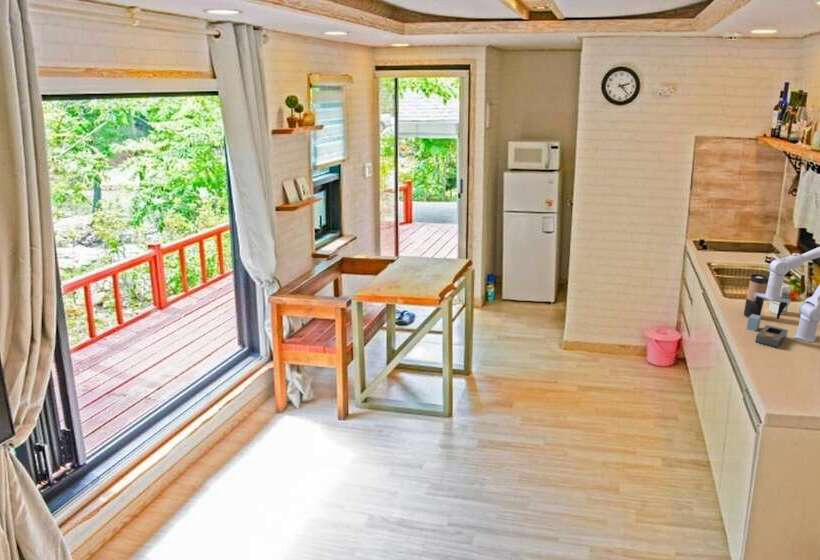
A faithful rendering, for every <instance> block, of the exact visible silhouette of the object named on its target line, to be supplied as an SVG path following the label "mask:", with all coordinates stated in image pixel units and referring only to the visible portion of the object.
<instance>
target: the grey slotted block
mask: <svg viewBox="0 0 820 560" xmlns="http://www.w3.org/2000/svg"><path fill="white" fill-rule="evenodd" d="M788 333H789V330H788V329H785V328H781V327H777V326H773V325H768V324H766V325H765V326H763V328H762V329H761V330H760V331H759V332H758V333H757V334H756V336H755V341H754V343H755V342H756V343H755V344H757V343H759V344H758V345H761V344H763V345H762V346H765V345H767V347H769V346H770V348H773V347H774V349H778V348H780V346H781V345H782V344H783V343H784V341H786V339H787V337H788Z"/></svg>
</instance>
